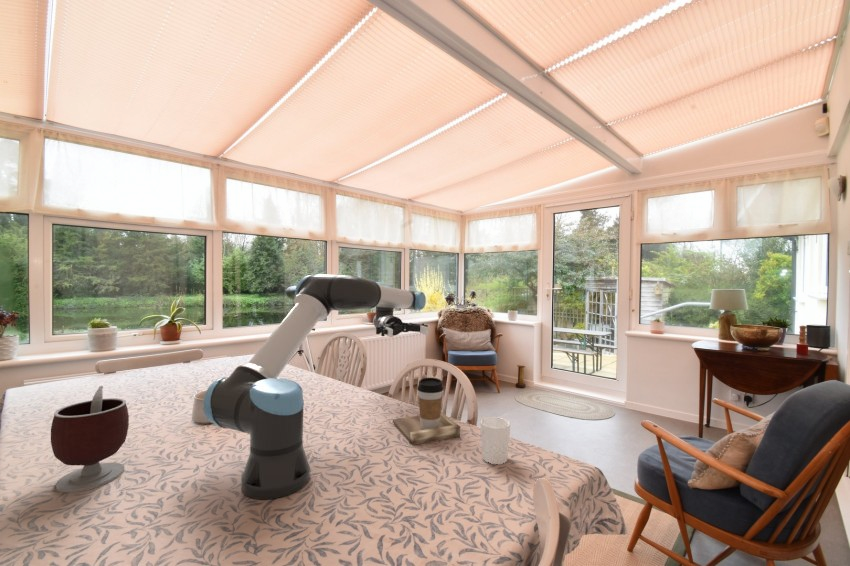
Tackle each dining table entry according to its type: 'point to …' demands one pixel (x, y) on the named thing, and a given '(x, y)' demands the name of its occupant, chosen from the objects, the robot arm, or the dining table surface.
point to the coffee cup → (430, 402)
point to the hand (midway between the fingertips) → (410, 332)
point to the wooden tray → (417, 435)
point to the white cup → (495, 439)
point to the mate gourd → (89, 441)
